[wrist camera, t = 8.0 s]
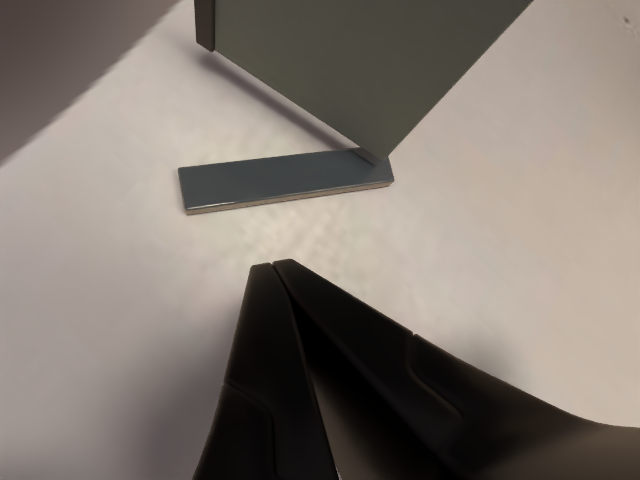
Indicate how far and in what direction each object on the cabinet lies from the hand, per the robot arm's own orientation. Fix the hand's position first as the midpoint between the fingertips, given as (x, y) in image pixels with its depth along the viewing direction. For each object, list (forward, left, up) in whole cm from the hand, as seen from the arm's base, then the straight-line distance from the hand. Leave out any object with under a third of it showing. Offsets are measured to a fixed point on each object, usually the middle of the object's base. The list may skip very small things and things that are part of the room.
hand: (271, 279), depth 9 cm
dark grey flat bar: (+5, 0, -6) cm, 8 cm away
